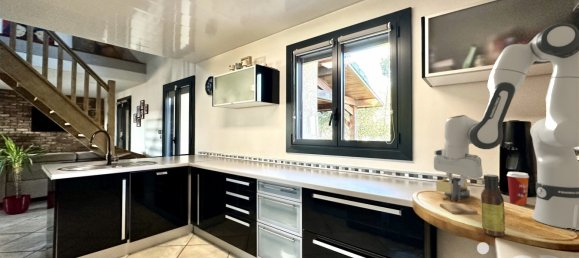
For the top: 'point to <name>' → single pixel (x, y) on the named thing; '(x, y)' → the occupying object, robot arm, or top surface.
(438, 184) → the chuck collar
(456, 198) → the steel cylinder
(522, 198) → the paper cup
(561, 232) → the top surface
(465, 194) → the chuck base
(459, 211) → the wooden mat
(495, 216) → the sauce bottle
